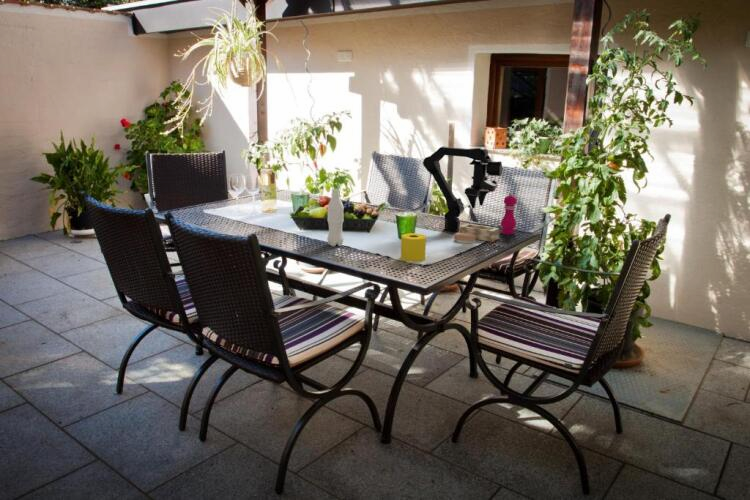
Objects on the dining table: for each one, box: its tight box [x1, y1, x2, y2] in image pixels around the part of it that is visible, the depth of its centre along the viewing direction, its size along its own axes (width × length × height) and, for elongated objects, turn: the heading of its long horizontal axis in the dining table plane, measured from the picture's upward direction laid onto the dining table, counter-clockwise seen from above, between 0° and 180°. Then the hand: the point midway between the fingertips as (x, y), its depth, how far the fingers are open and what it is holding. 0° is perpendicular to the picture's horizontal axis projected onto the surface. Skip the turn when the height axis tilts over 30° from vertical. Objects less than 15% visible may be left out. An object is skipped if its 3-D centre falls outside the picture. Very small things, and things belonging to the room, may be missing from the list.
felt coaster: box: [455, 239, 477, 244], centre depth 282 cm, size 9×9×1 cm
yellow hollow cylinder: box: [400, 232, 427, 263], centre depth 251 cm, size 10×10×9 cm
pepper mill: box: [500, 191, 518, 235], centre depth 296 cm, size 7×7×20 cm
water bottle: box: [326, 188, 345, 247], centre depth 267 cm, size 7×7×25 cm
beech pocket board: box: [459, 223, 500, 243], centre depth 288 cm, size 16×8×5 cm, turn 59°
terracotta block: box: [453, 232, 477, 242], centre depth 281 cm, size 9×4×2 cm, turn 68°
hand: (477, 206), depth 293 cm, fingers open, 9 cm apart
